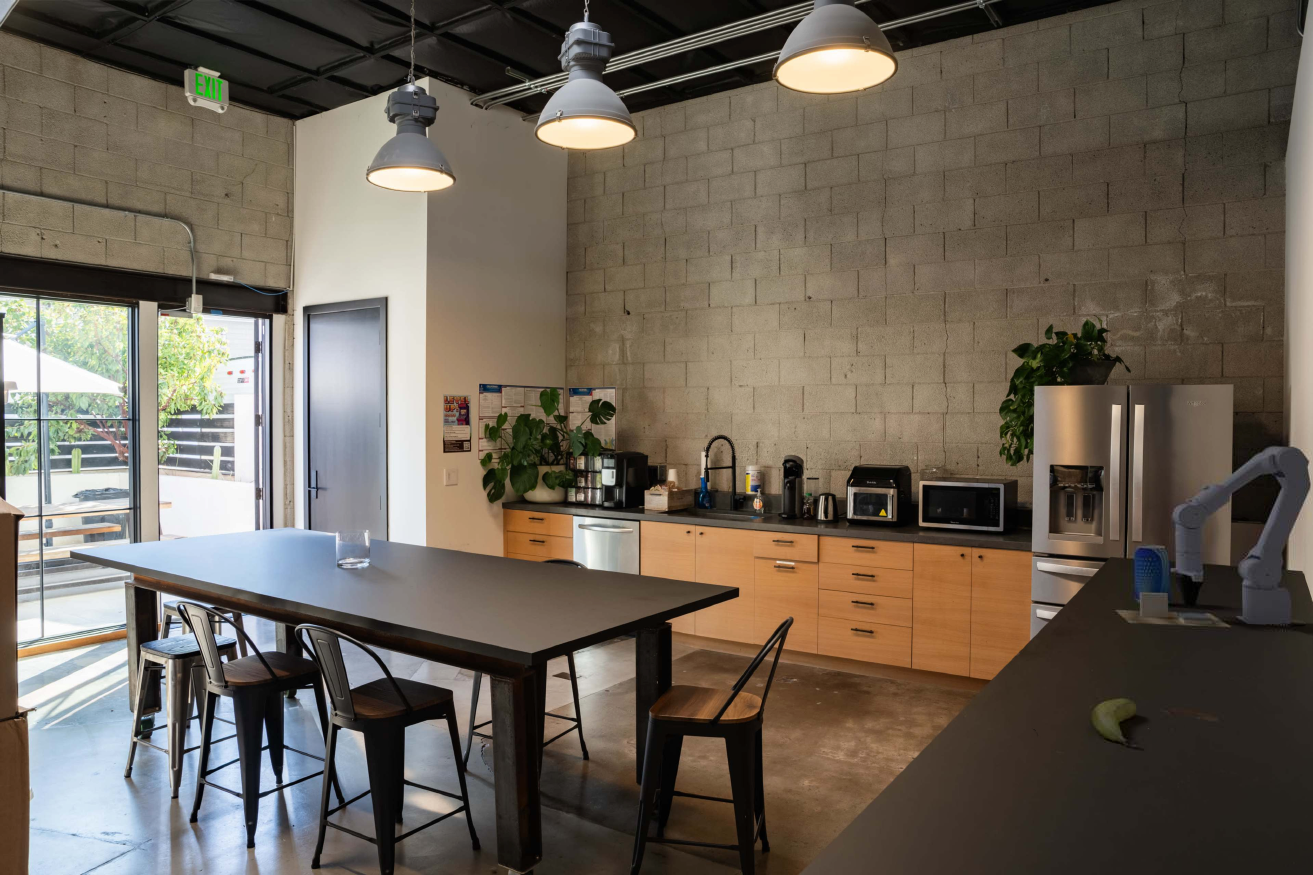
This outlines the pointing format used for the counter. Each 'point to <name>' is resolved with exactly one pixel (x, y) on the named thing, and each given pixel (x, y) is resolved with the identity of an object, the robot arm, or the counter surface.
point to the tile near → (1194, 618)
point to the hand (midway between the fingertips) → (1189, 605)
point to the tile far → (1153, 604)
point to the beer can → (1152, 570)
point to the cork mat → (1165, 619)
